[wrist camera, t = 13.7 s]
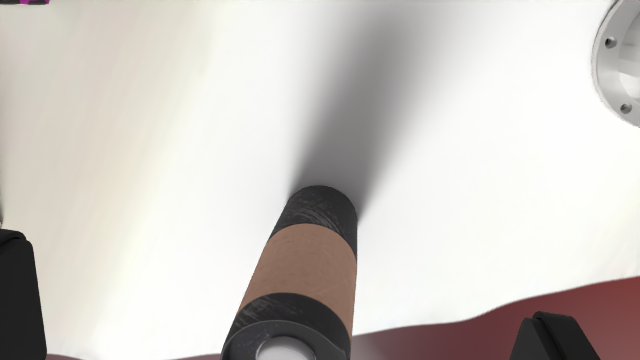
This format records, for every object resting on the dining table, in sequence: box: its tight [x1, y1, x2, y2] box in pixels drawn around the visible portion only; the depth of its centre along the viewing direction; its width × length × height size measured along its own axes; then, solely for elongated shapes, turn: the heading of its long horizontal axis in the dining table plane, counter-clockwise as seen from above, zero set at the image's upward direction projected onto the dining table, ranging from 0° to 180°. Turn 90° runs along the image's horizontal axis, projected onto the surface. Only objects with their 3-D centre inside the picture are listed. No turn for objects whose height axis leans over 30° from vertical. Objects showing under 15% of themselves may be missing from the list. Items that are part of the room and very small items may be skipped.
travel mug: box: [220, 186, 357, 360], centre depth 36 cm, size 8×8×20 cm
